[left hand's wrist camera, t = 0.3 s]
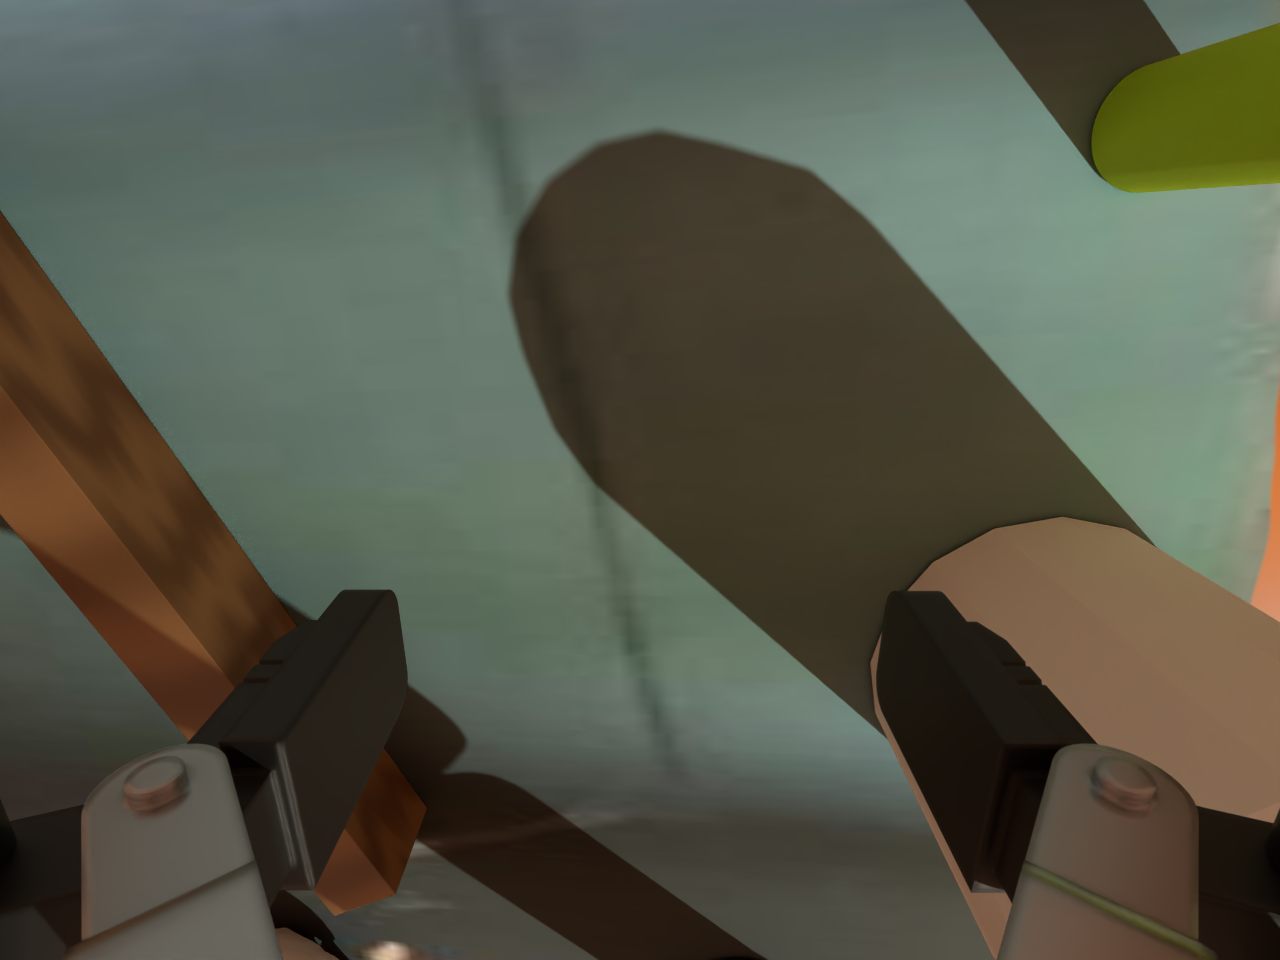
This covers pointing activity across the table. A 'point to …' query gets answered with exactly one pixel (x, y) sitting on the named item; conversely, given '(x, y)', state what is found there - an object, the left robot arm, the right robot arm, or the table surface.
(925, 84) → the table surface
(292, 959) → the skull bowl
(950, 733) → the left robot arm
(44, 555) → the bar
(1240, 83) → the soap dispenser
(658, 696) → the table surface
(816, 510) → the table surface
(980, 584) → the container
